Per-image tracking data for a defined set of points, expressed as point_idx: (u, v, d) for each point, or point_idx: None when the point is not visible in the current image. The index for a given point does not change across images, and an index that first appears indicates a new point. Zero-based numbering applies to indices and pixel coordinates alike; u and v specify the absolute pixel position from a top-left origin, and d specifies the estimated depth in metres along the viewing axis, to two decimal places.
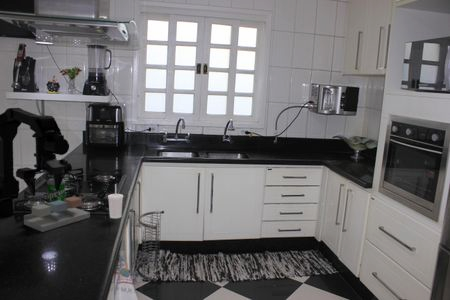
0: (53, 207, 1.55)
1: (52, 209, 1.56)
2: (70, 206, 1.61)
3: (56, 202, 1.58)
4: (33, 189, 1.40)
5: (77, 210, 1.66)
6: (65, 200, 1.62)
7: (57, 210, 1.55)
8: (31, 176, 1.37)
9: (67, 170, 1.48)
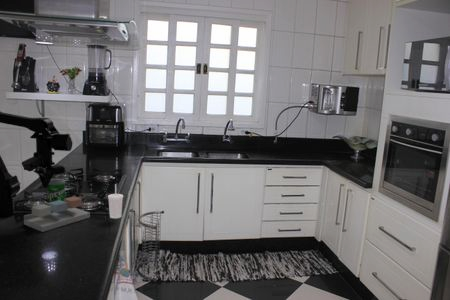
0: (53, 207, 1.55)
1: (52, 209, 1.56)
2: (70, 206, 1.61)
3: (56, 202, 1.58)
4: (41, 181, 1.60)
5: (77, 210, 1.66)
6: (65, 200, 1.62)
7: (57, 210, 1.55)
8: None
9: (48, 173, 1.53)
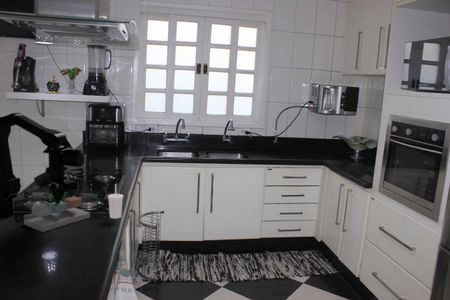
0: (53, 208, 1.55)
1: (52, 210, 1.56)
2: (70, 206, 1.61)
3: (56, 203, 1.58)
4: (54, 197, 1.57)
5: (77, 210, 1.66)
6: (65, 200, 1.62)
7: (57, 211, 1.55)
8: None
9: (61, 189, 1.50)
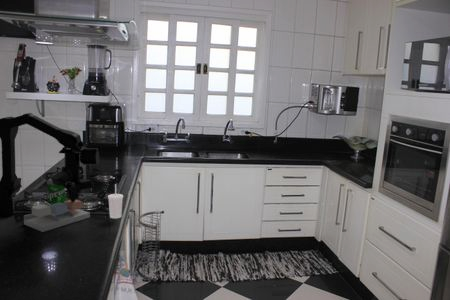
0: (53, 210, 1.55)
1: (52, 211, 1.56)
2: (70, 209, 1.61)
3: (56, 204, 1.58)
4: (69, 195, 1.63)
5: (77, 210, 1.66)
6: (65, 203, 1.62)
7: (57, 213, 1.55)
8: None
9: (77, 187, 1.56)
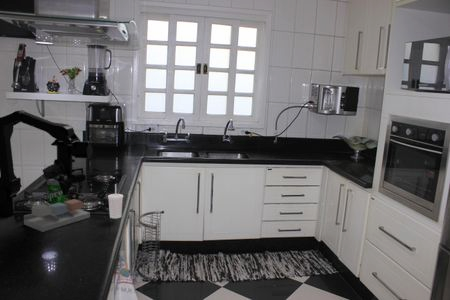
0: (53, 210, 1.55)
1: (52, 211, 1.56)
2: (70, 209, 1.61)
3: (56, 204, 1.58)
4: (61, 189, 1.59)
5: (77, 210, 1.66)
6: (65, 203, 1.62)
7: (57, 213, 1.55)
8: None
9: (69, 180, 1.53)
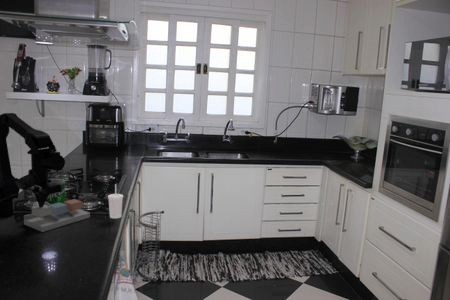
0: (53, 210, 1.55)
1: (52, 211, 1.56)
2: (70, 209, 1.61)
3: (56, 204, 1.58)
4: (37, 200, 1.51)
5: (77, 210, 1.66)
6: (65, 203, 1.62)
7: (57, 213, 1.55)
8: None
9: (44, 192, 1.44)
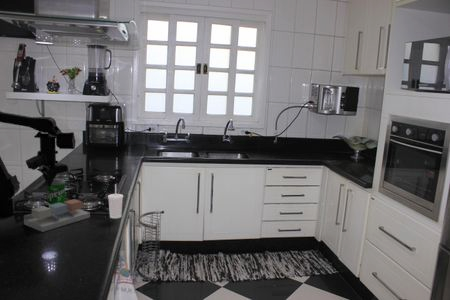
0: (53, 210, 1.55)
1: (52, 211, 1.56)
2: (70, 209, 1.61)
3: (56, 204, 1.58)
4: (45, 179, 1.63)
5: (77, 210, 1.66)
6: (65, 203, 1.62)
7: (57, 213, 1.55)
8: None
9: (51, 171, 1.56)
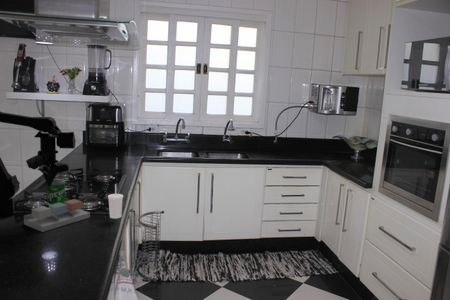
0: (53, 210, 1.55)
1: (52, 211, 1.56)
2: (70, 209, 1.61)
3: (56, 204, 1.58)
4: (45, 179, 1.64)
5: (77, 210, 1.66)
6: (65, 203, 1.62)
7: (57, 213, 1.55)
8: None
9: (52, 170, 1.57)
